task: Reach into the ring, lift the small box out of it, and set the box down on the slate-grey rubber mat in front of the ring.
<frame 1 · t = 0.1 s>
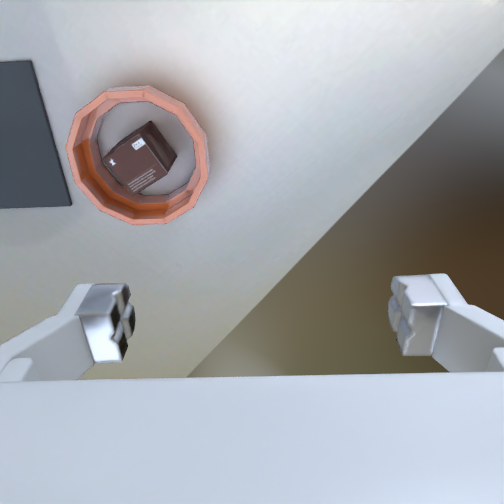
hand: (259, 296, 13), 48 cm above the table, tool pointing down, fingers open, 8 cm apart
box: (148, 148, 60), resting in ring
ring: (148, 149, 60), on the table
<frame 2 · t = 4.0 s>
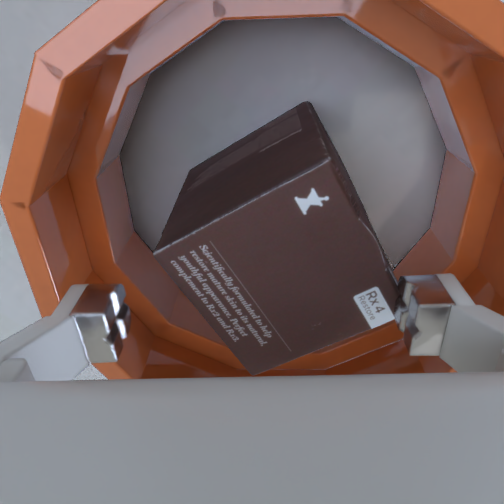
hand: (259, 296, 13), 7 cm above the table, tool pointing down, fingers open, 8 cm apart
box: (279, 189, 19), resting in ring, touching gripper
ring: (279, 191, 19), on the table
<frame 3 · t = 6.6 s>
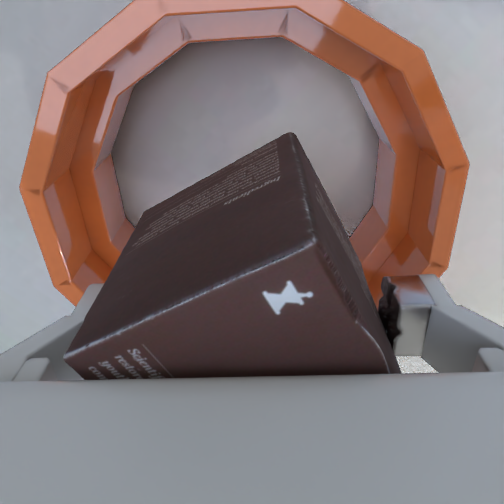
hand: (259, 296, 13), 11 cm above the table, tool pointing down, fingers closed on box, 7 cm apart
box: (256, 236, 16), point 8 cm above the table, touching gripper
ring: (246, 179, 23), on the table
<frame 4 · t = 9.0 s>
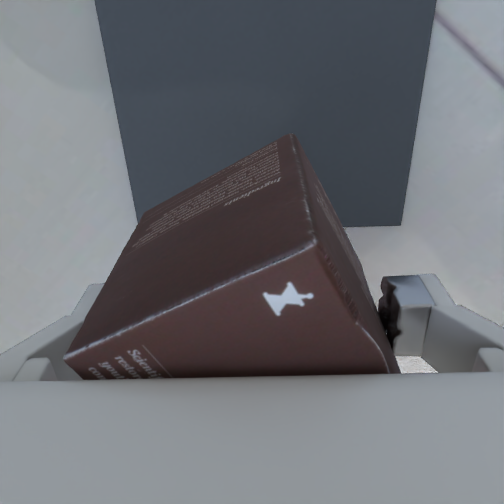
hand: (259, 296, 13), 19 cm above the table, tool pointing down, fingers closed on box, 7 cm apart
box: (257, 236, 16), point 16 cm above the table, touching gripper
mat: (266, 105, 28), on the table
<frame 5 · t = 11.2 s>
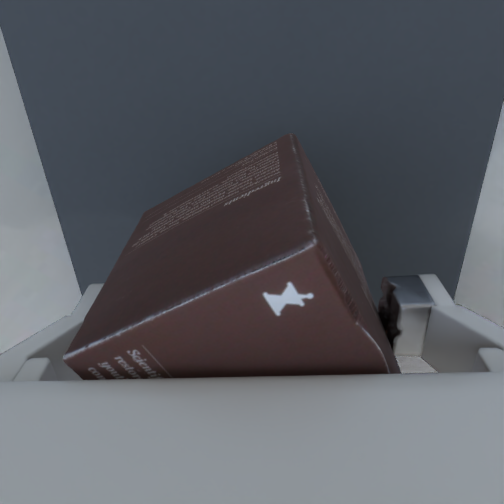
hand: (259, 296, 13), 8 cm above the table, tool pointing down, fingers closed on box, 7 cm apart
box: (257, 236, 16), point 5 cm above the table, touching gripper
mat: (263, 187, 20), on the table
when the fingers open (3 cm above the table, at t = 13.0 s): box stays where it is, resting on mat.
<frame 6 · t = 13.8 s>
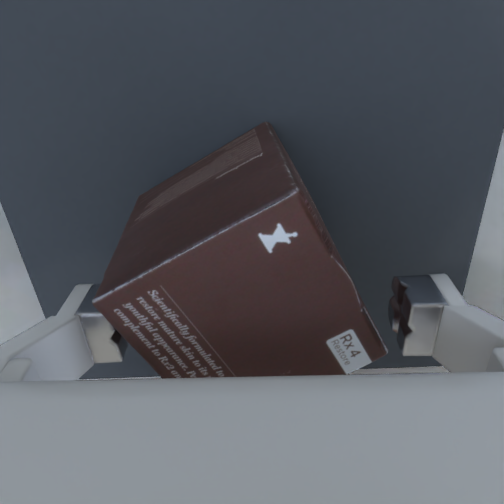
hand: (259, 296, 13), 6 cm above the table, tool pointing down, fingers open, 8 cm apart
box: (239, 216, 18), point 1 cm above the table, touching mat
mat: (244, 215, 18), on the table
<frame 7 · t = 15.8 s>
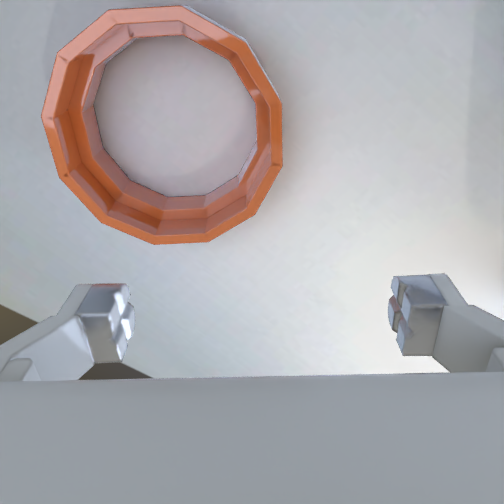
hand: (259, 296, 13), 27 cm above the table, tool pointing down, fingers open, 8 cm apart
ring: (176, 122, 37), on the table
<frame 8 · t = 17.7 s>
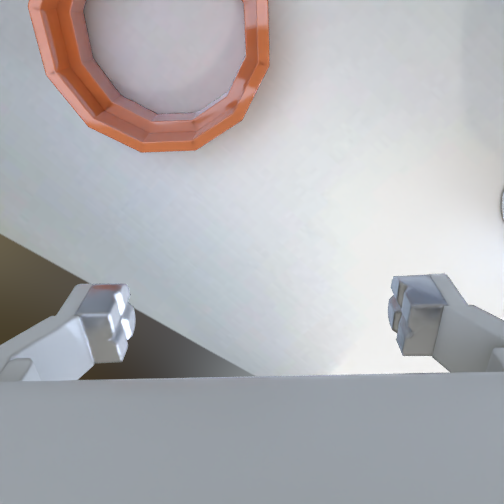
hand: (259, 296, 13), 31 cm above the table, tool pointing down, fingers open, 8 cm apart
ring: (166, 31, 37), on the table
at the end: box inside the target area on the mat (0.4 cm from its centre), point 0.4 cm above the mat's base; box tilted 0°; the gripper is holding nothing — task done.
